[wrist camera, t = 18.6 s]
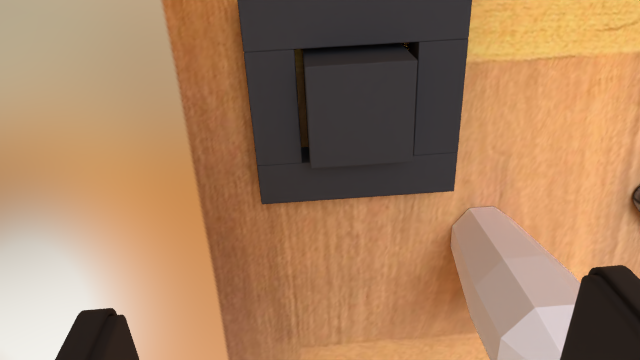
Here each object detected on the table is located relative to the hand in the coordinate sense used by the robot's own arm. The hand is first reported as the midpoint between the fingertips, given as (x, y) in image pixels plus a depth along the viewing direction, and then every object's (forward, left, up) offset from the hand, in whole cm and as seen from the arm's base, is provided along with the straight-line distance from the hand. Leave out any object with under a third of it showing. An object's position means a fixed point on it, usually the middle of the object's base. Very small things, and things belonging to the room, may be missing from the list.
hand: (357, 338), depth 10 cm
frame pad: (+3, +2, -22) cm, 23 cm away
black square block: (+3, +2, -22) cm, 23 cm away
